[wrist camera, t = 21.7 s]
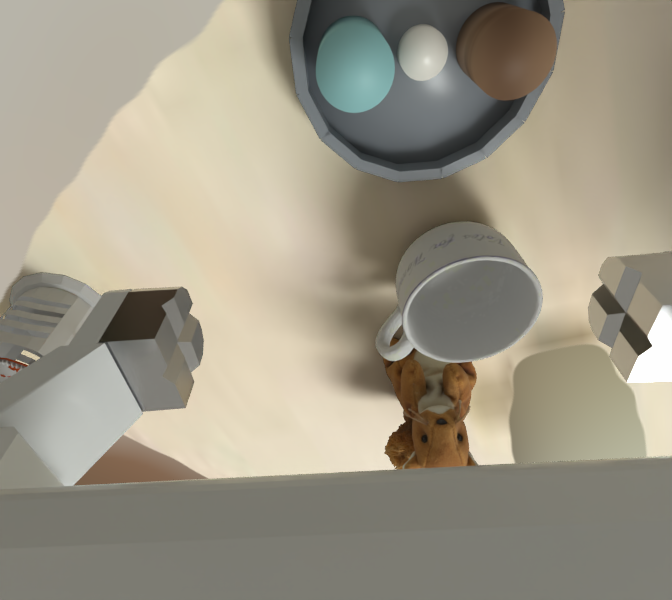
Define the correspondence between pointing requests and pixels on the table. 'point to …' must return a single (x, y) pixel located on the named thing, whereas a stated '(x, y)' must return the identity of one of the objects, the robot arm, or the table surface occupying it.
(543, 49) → the walnut bead
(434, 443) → the stuffed squirrel
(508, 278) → the teacup
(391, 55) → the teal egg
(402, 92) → the groove tray
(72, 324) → the french press
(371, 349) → the table surface
